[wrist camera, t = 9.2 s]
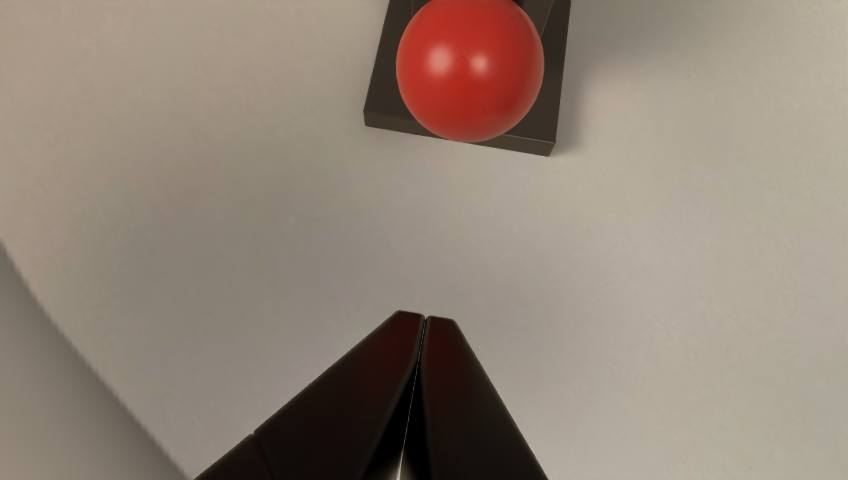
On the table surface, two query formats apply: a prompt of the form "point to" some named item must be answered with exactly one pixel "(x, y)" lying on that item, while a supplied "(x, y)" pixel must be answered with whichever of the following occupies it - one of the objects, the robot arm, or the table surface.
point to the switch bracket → (531, 135)
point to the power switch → (470, 67)
